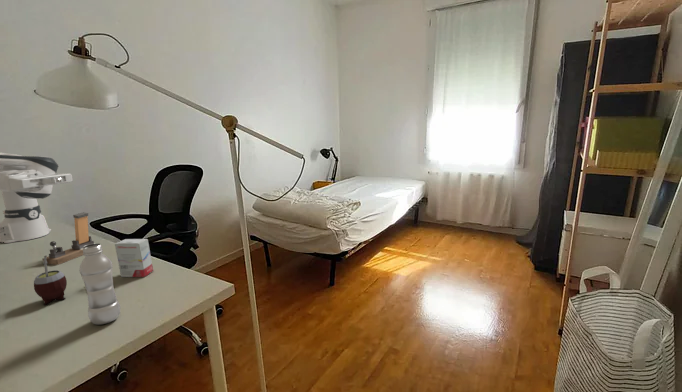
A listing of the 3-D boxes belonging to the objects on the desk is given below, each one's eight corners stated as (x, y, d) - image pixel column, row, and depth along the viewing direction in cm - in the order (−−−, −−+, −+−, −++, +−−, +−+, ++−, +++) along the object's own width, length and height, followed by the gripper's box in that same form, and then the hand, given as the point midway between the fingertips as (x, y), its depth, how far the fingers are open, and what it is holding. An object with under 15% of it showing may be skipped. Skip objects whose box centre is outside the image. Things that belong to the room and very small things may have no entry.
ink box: (154, 271, 114) (148, 238, 111) (144, 277, 109) (138, 243, 106) (130, 270, 114) (125, 238, 112) (120, 277, 110) (114, 243, 107)
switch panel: (43, 263, 124) (40, 249, 123) (85, 248, 139) (82, 235, 138) (58, 264, 122) (55, 250, 121) (98, 249, 137) (95, 236, 136)
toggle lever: (51, 252, 124) (47, 242, 124) (56, 250, 126) (52, 241, 125) (55, 251, 124) (51, 241, 123) (60, 249, 125) (56, 240, 125)
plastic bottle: (100, 314, 87) (85, 242, 83) (127, 312, 88) (114, 240, 84) (84, 329, 81) (67, 251, 77) (113, 327, 81) (98, 249, 77)
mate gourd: (53, 294, 100) (42, 246, 97) (78, 293, 99) (68, 245, 96) (29, 307, 92) (16, 256, 89) (57, 306, 92) (45, 255, 89)
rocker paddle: (75, 243, 132) (73, 214, 130) (85, 239, 136) (83, 212, 134) (79, 244, 132) (77, 216, 129) (89, 240, 136) (88, 213, 133)
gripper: (58, 184, 144) (84, 184, 141) (2, 192, 124) (32, 192, 122) (55, 170, 143) (82, 169, 140) (-1, 176, 123) (28, 175, 120)
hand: (58, 180), depth 131 cm, fingers closed
